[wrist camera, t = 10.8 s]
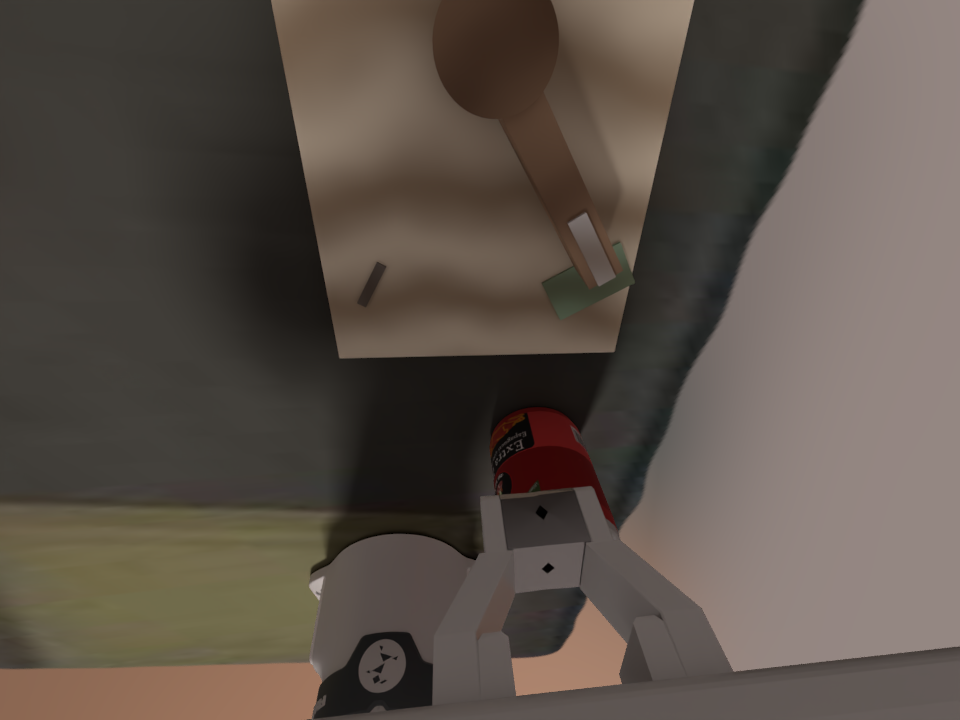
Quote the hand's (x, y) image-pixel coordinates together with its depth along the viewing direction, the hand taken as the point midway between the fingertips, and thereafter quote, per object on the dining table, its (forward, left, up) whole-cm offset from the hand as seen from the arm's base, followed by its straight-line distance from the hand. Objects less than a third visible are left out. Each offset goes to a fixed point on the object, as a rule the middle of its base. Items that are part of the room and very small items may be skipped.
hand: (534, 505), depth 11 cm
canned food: (-16, -5, -20) cm, 26 cm away
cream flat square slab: (+4, 0, -20) cm, 20 cm away
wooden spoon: (+7, -3, -17) cm, 18 cm away
